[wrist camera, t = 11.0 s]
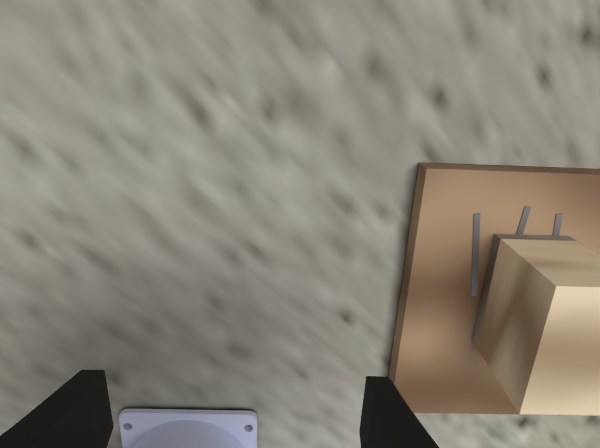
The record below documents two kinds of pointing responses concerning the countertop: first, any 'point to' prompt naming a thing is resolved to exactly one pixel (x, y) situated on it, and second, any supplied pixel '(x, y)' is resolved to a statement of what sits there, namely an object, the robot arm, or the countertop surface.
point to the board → (473, 271)
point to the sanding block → (542, 323)
